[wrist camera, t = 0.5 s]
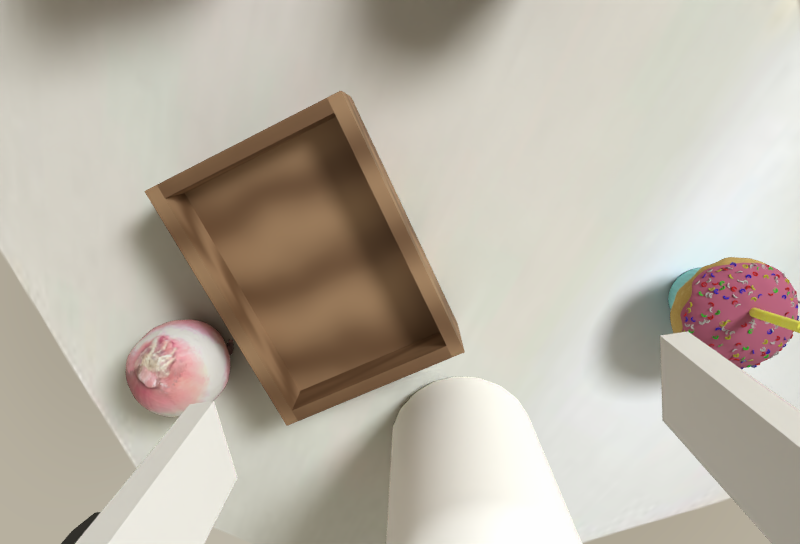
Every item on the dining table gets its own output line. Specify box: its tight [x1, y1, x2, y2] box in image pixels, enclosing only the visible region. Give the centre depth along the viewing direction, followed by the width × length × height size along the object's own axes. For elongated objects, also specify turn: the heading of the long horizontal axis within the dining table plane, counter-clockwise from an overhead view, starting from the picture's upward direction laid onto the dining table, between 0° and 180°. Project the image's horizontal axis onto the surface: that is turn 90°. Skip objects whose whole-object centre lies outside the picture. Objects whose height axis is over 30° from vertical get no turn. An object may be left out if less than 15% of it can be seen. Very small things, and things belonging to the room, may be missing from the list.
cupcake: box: [668, 257, 800, 369], centre depth 34 cm, size 9×8×12 cm
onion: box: [126, 319, 234, 417], centre depth 39 cm, size 8×8×7 cm
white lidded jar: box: [386, 376, 582, 544], centre depth 34 cm, size 12×12×20 cm
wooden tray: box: [145, 91, 464, 425], centre depth 37 cm, size 20×15×6 cm
